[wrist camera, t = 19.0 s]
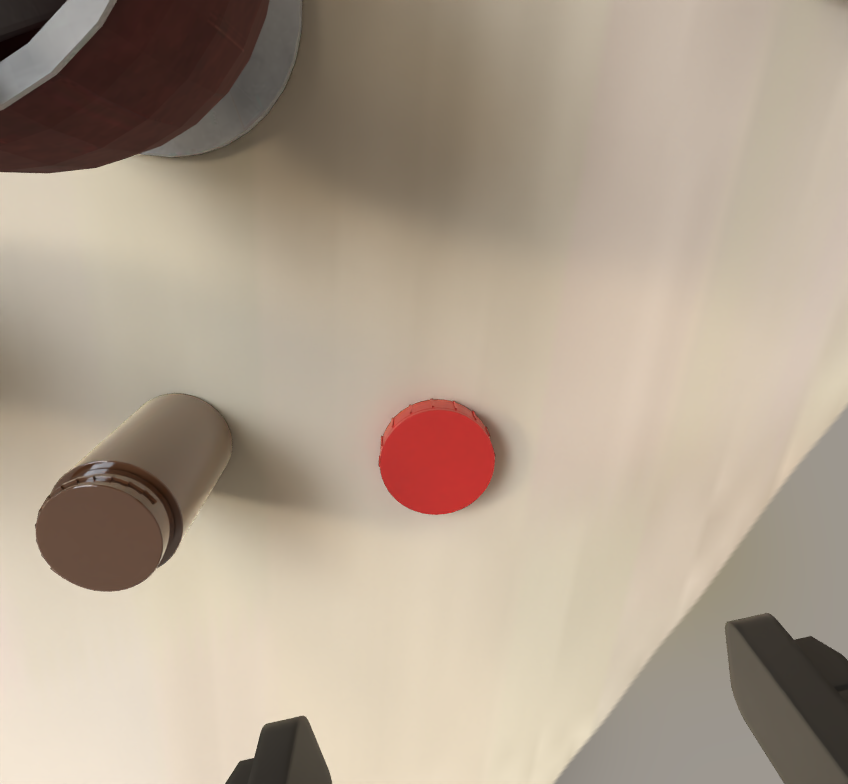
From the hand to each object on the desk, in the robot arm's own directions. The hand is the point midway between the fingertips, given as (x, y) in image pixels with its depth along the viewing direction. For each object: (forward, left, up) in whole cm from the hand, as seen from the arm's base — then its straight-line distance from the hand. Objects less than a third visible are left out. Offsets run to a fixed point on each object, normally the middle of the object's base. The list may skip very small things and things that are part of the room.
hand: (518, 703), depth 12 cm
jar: (+13, -6, -21) cm, 25 cm away
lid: (+3, +3, -20) cm, 20 cm away
